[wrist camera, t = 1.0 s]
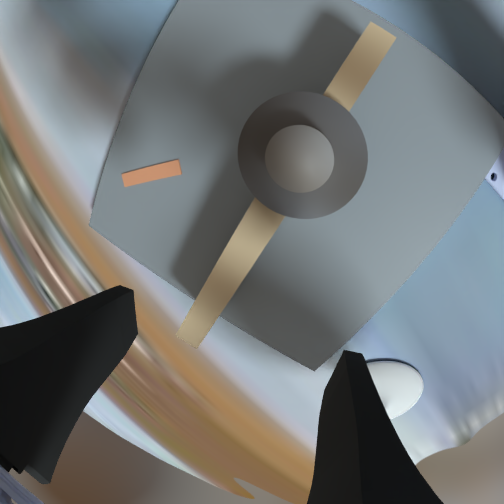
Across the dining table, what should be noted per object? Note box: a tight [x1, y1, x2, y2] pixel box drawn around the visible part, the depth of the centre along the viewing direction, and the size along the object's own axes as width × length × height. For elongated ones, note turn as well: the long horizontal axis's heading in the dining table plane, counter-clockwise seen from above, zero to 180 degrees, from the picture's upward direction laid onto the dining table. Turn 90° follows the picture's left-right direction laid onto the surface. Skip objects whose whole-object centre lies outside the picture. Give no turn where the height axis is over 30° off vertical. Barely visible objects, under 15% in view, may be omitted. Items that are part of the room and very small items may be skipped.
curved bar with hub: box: [176, 22, 396, 349], centre depth 14 cm, size 19×5×5 cm, turn 151°
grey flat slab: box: [89, 0, 504, 371], centre depth 16 cm, size 20×22×2 cm
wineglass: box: [366, 361, 423, 419], centre depth 13 cm, size 9×9×21 cm
